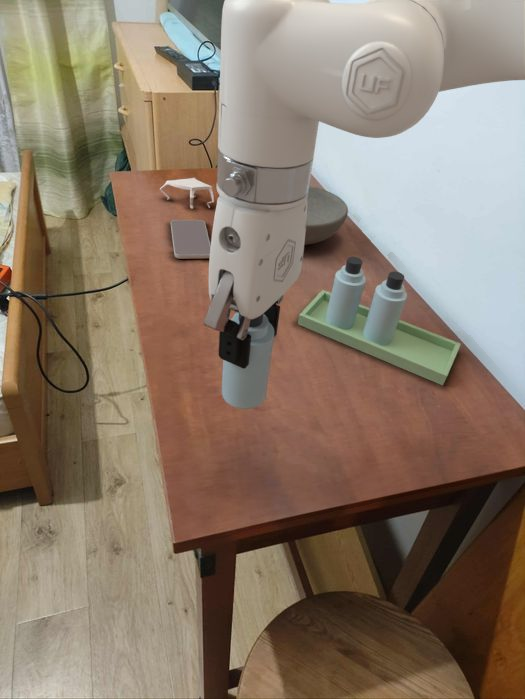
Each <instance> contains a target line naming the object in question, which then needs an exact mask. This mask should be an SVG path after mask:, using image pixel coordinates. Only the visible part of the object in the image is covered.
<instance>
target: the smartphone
mask: <svg viewBox="0 0 525 699" xmlns="http://www.w3.org/2000/svg"><path fill="white" fill-rule="evenodd" d="M170 229H171V230H170V231H171V239H172V247H173V256H174V257H175V259H182V260H183V259H187V260H188V259H210V248H211V241H210V238H209V233H208V229H207V224H206V222H205V220H202V219H173V220H171V221H170Z"/></svg>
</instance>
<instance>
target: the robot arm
mask: <svg viewBox="0 0 525 699" xmlns="http://www.w3.org/2000/svg"><path fill="white" fill-rule="evenodd" d="M220 25H221V26H220V28H221V30H220V62H219V65H220V66H219V95H218V96H219V98H218V105H219V106H218V126H217V127H218V129H217V132H218V133H217V157H216V158H217V159H216V161H217V162H216V191H217V193H218V195H219V196H218V197H217V200H216V207H215V212H214V217H213V223H212V230H211V239H210V246H211V248H210V258H208V259H209V260H208V261H209V262H208V295H209V300H210V305H209V308H208V310H207V313H206V315H205V318H204V321H203V325H204V326H205V327H207V328H210V329H213V330H215V331H217V332H219V335H218V336H219V337H218V357H219V358H220V360H222V361H223V360H225V361H227V362H230V363H232V364H234V365H236V366H238V367H241V368H243V369H245V368H246V367H247V366H248V365H249V356H250V345H251V335H250V334H248V329H249V325H250V321H251V319H255V318H257V317H259V316H260V315H262V314H264V315H266V317H267V318H268V321H269V323H270V324H271V325H272V326H273V328H274V338H275V337H276V336H277V335H278V327H279V322H280V321H279V319H280V314H281V312H280V311H281V305H280V304H281V303H282V301H283V300H284V294H285V293H287V292H288V290H289V289H290V288H291V287H293V285H294V284H295V283H296V282H297V280H298V279H299V277H300V275H301V272H302V267H303V260H304V251H305V245H304V243H305V232H306V221H307V198H308V192H309V186H311V185H310V183H311V177H312V170H313V165H314V159H315V149H316V144H317V137H318V130H319V125H320V124H319V123H323V124H325V125H328V126H330V127H333V128H336V129H338V130H341V131H343V132H346V133H350V134H353V135H356V136H360V137H363V138H372V139H382V138H389V137H394V136H397V135H400V134H403V133H404V132H406V131H408V130H410V129H411V128H413V127H414V126H416V125H417V124H418V123H419V122H420V121H422V119H423V118H424V117H425V116H426V115H427V113H428V112H429V111H430V109H431V107H432V106H433V104H434V102H436V99H437V97H438V95H439V93H441V92H445V91H451V90H455V89H461V88H467V87H471V86H479V85H484V84H492V83H498V82H499V83H500V82H510V81H525V0H369V1H366V2H362V3H334V2H333V3H332V2H331V1H330V0H224V1H223V5H222V12H221V24H220ZM231 311H233V312H236V313H237V312H238V313H240V314H241V318H240V322H239V324H238V323H236V322H235V321H232V320H231V319H230V316H231Z"/></svg>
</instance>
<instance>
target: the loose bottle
mask: <svg viewBox="0 0 525 699" xmlns="http://www.w3.org/2000/svg"><path fill="white" fill-rule="evenodd" d="M240 318H241V314H240V313H238V312H236V313H234V315H233V316H232V318H231V319H230V320H232V321H235V322H236V323H238V324H239V322H240ZM248 334H250V335H251V345H250V356H249V365H248V366H247V367H246V368H245V369H243V368H241V367H238V366H236V365H234V364H232V363H230V362H227V361H225V360H223V359H222V376H221V377H222V379H221V396H222V398H223V400H224V402H226V403H227V404H228V405H229V406H231V407H233V408H236V409H241V410H250V409H254V408H257V407H259V406H261V405H262V404H263V403H264V401H265V400H266V397H267V393H268V385H269V378H270V370H271V361H272V354H273V346H274V339H275V337H274V328H273V326H272V325H271V324H270V323H269V321H268V318H267V317H266V315H264V314H262V315H260V316H259V317H257V318H255V319H251V321H250V325H249V329H248Z"/></svg>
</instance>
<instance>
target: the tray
mask: <svg viewBox="0 0 525 699" xmlns="http://www.w3.org/2000/svg"><path fill="white" fill-rule="evenodd" d="M330 296H331V292H330V291H327V290H325V289H321V291H320V292H318V294H317V295H316V296H314V298H313V299H312V300H311V302H310V303H308V305H307V306H306V307H305V308H304V309H303V310H302V311H301V312H300V314H299V315H298V320H297V325H298V326H301V327H303V328H305V329H308V330H309V331H312V332H315V333H317V334H320V335H321V336H324V337H327V338H329V339H332V340H334V341H336V342H339V343H340V344H343V345H346V346H348V347H350V348H353V349H355V350H357V351H360V352H362V353H365V354H366V355H370V356H372V357H374V358H376V359H379V360H380V361H383V362H385V363H388V364H391V365H392V366H395V367H397V368H400V369H402V370H405V371H407V372H409V373H412V374H414V375H417V376H419V377H421V378H424V379H426V380H429V381H431V382H432V383H434V384H435V383H436V384H438V385H440V386H443V387H444V384H445V383H446V380H447V379H448V376H449V373H450V371H451V368H452V366H453V364H454V362H455V359H456V357H457V354H458V352H459V350H460V348H461V346H462V343H460V342H457V341H455V340H452V339H451V338H447V337H445V336H442V335H440V334H437V333H435V332H432V331H429V330H426V329H424V328H422V327H419V326H417V325H414V324H412V323H410V322H407V321H404V320H401V319H399V321H398V324H397V327H396V330H395V333H394V335H393V338H392V341H391V342H390V343H389V344H387V345H378V344H376V343H374V342H371V341H369V340H366V339H365V338H364V336H363V330H364V327H365V323H366V320H367V317H368V313H369V310H370V307H368V306H366V305H363V304H361V303H360V304H359V307H358V311H357V314H356V318H355V322H354V325H353V326H352V327H351V328H349V329H340V328H337V327H335V326H333V325H330V324H328V323H327V322H326V314H327V309H328V305H329V301H330Z"/></svg>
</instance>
